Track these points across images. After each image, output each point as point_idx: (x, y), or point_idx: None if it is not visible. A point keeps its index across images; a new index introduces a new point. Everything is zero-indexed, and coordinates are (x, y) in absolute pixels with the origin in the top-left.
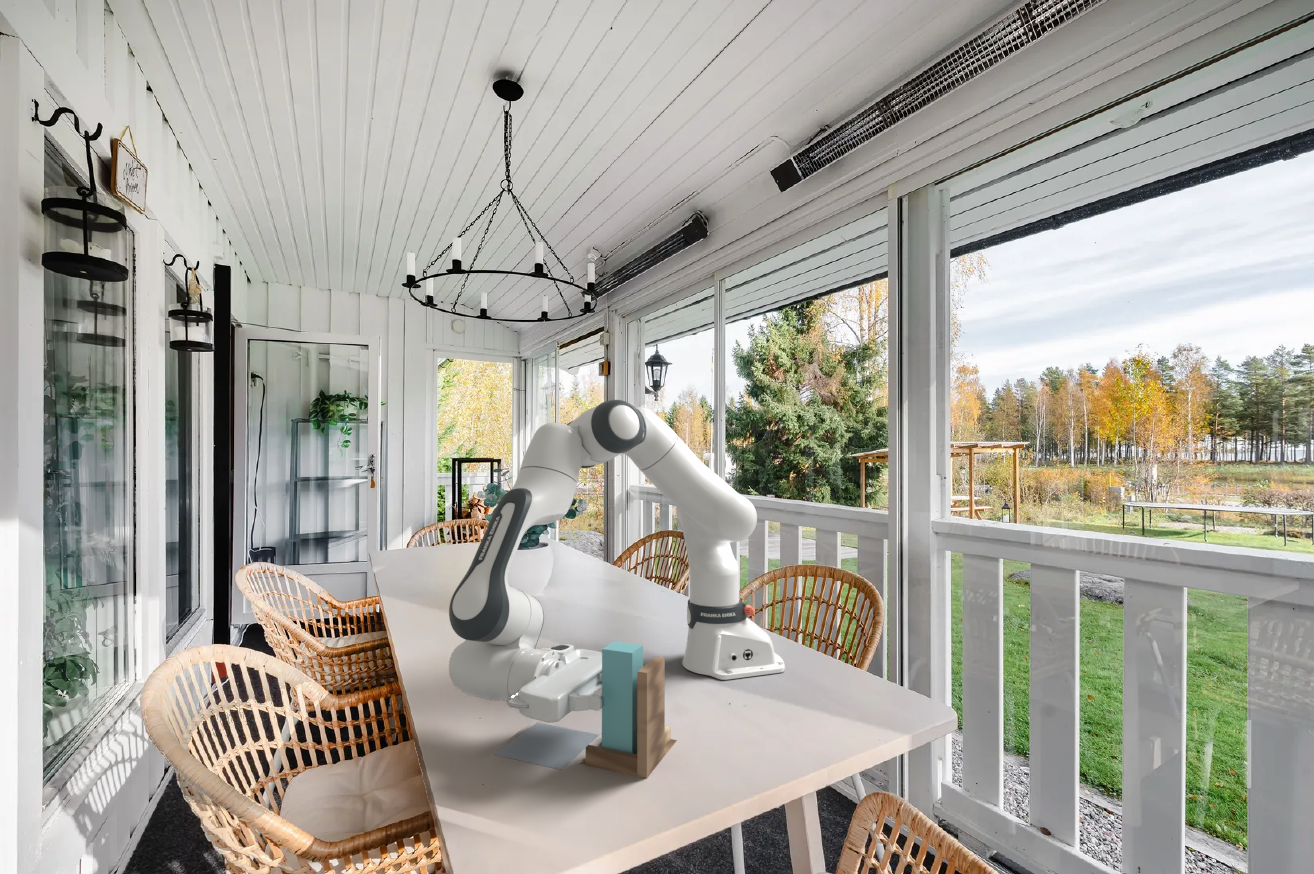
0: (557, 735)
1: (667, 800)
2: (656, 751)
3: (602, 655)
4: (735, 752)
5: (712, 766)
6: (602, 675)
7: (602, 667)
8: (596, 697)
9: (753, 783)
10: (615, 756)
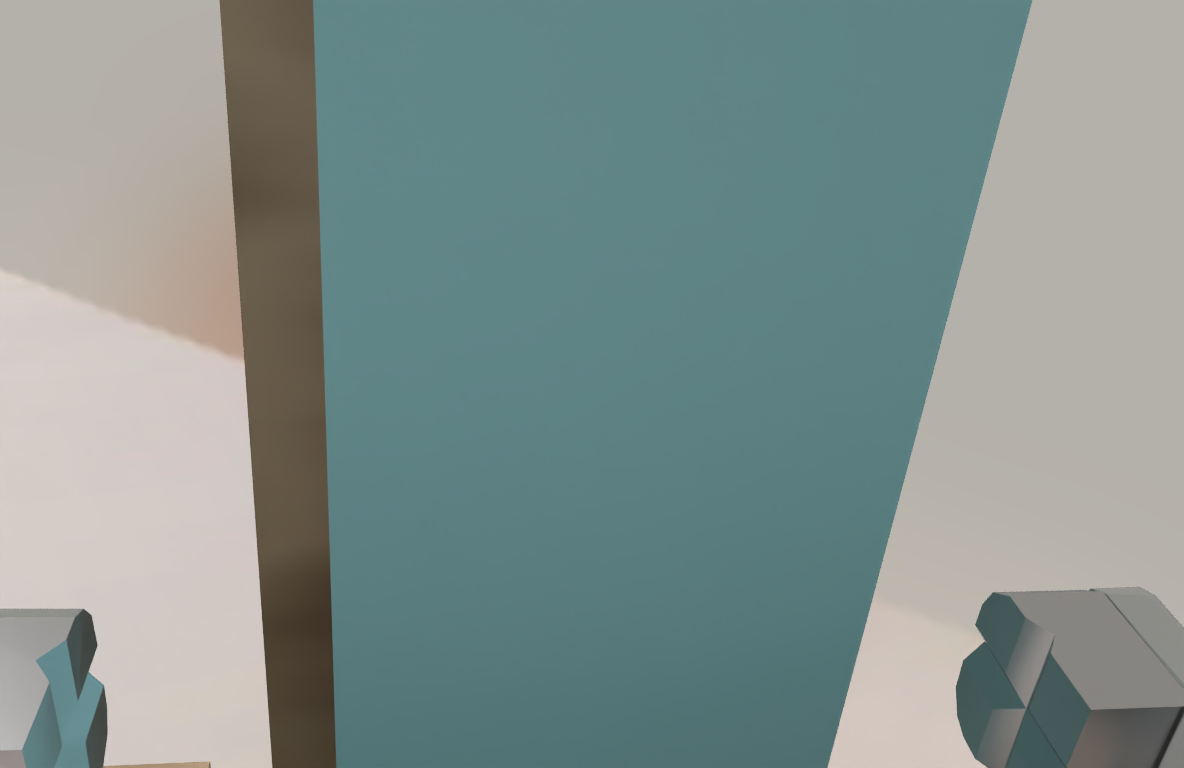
0: None
1: None
2: None
3: (1010, 46)
4: (29, 561)
5: (251, 613)
6: (902, 468)
7: (945, 316)
8: (1156, 617)
9: None
10: None
